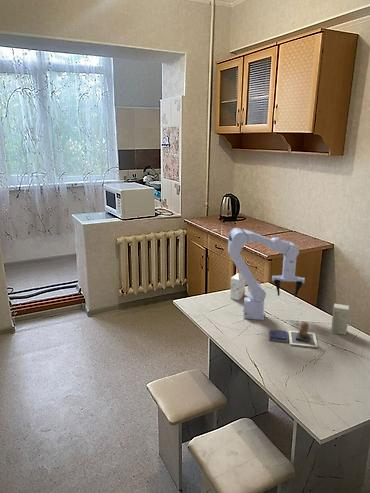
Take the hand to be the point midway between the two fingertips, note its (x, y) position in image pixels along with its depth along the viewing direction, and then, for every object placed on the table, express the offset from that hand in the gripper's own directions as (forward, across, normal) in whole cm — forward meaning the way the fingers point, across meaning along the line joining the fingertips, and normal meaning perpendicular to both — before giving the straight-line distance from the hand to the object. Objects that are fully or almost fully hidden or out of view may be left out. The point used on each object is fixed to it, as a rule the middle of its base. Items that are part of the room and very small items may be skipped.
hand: (286, 295), depth 175 cm
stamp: (+9, -6, +22) cm, 25 cm away
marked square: (+10, -6, +22) cm, 25 cm away
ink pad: (+10, +4, +22) cm, 24 cm away
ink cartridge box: (+10, +24, -16) cm, 31 cm away
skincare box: (+10, -22, +12) cm, 27 cm away
